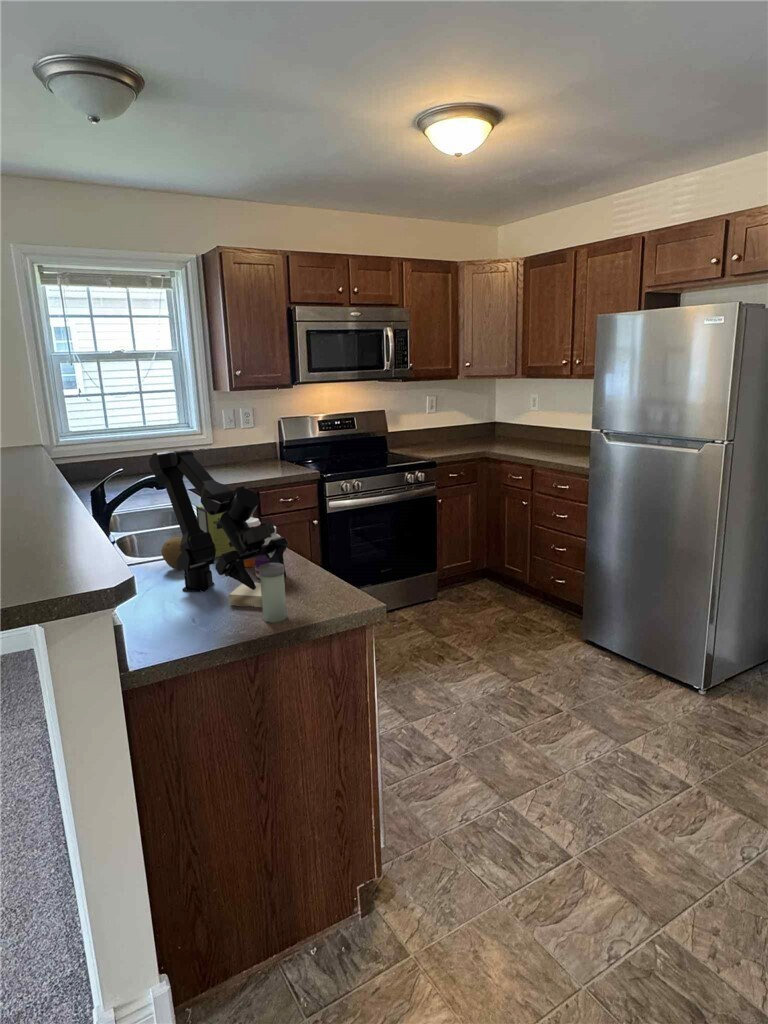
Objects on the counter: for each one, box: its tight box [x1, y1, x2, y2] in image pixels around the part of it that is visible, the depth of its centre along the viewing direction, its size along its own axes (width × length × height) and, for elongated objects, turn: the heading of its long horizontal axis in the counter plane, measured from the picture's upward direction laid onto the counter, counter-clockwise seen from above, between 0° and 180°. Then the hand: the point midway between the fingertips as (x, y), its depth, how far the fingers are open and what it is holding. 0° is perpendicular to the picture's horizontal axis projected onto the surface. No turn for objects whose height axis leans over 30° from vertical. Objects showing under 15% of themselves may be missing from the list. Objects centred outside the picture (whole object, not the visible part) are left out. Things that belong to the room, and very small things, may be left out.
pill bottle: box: [254, 525, 282, 579], centre depth 179 cm, size 8×8×14 cm
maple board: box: [228, 582, 262, 608], centre depth 163 cm, size 9×9×3 cm
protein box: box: [195, 504, 254, 558], centre depth 205 cm, size 10×15×16 cm
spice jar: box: [258, 563, 288, 623], centre depth 150 cm, size 6×6×13 cm
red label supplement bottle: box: [244, 516, 262, 568], centre depth 190 cm, size 8×8×14 cm
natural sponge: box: [160, 536, 182, 571], centre depth 188 cm, size 9×9×10 cm
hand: (270, 583), depth 150 cm, fingers open, 9 cm apart
